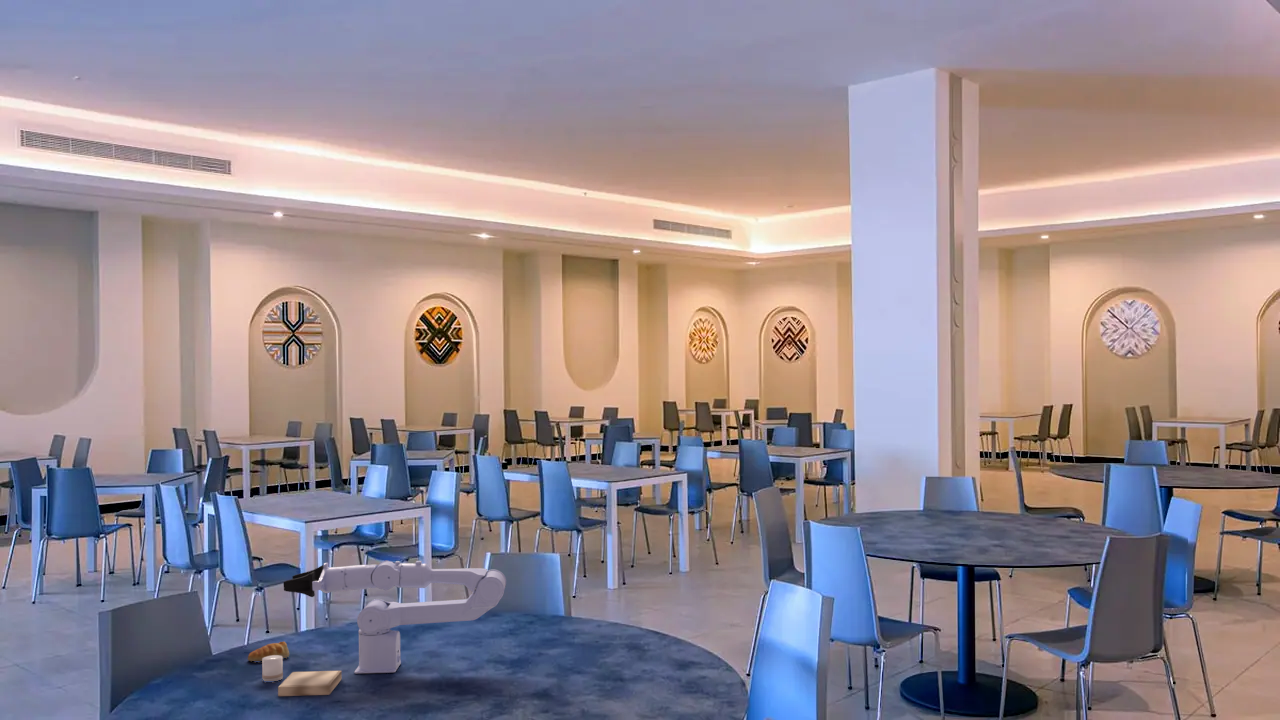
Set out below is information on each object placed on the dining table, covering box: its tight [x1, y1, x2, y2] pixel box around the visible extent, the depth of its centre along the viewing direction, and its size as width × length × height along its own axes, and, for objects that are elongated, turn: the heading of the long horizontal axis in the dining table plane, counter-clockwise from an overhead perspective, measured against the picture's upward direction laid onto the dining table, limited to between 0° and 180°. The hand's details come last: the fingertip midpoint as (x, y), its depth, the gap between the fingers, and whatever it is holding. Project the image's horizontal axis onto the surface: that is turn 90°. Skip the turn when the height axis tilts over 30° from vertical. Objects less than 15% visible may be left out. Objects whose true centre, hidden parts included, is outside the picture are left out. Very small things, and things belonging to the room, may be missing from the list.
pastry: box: [247, 641, 290, 662], centre depth 250 cm, size 9×7×4 cm
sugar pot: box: [261, 655, 284, 682], centre depth 233 cm, size 4×4×5 cm
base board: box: [277, 670, 343, 697], centre depth 226 cm, size 11×11×2 cm
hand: (288, 583), depth 239 cm, fingers open, 7 cm apart
